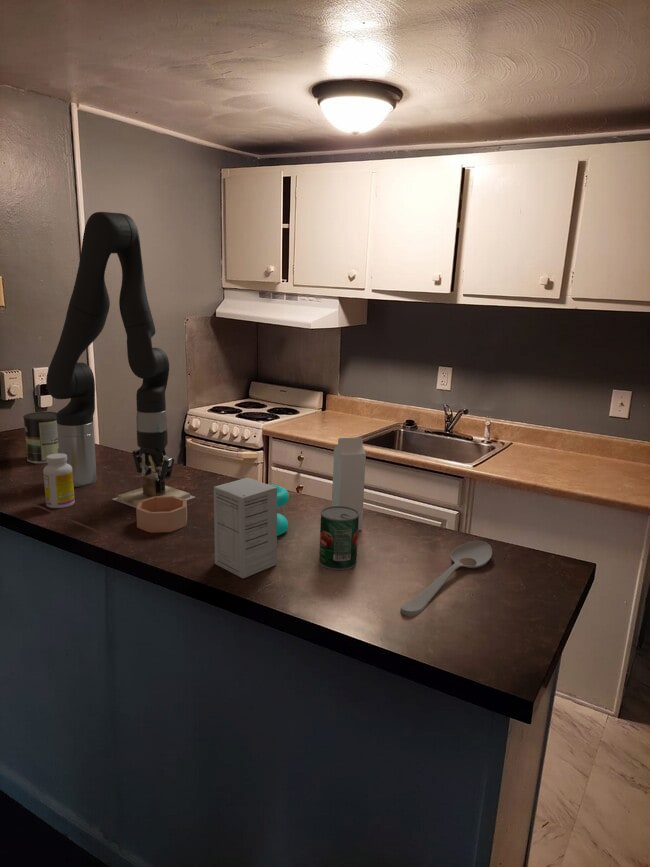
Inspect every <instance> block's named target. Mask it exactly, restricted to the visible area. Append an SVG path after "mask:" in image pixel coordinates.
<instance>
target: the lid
mask: <svg viewBox="0 0 650 867" xmlns="http://www.w3.org/2000/svg"><path fill="white" fill-rule="evenodd" d="M160 475H161V473H159V476H160ZM141 477H142V478H141V479H142V480H141V481H142V487H140V488H136V489H134V490H130V491H128V492H124V493H120V494H117V497H118V499H119V500H122V501H125V502H128V503H130V504H133V505H136V506H137V505H138V503H139V501H142V500H145V499H148V498H151V497H154V496H176V497H179V498H182V499H186V498H189V497H190V495H191V493H190V492H188V491H187V492H186V491H184V490H181V489H178V488H174V487H172V486H170V485H169V486H168V485H167V484H165V491H164V493H162V494H159V495H158V494H156V483H155V481H156V479H155V474H154V472H152V474H149V475H145V476H142V475H141ZM164 482H165V483H166V480H165V481H164Z"/></svg>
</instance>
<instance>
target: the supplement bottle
mask: <svg viewBox="0 0 650 867" xmlns="http://www.w3.org/2000/svg"><path fill="white" fill-rule="evenodd" d="M46 459H47V463H46V464H47V465H45V466H44V468H43V470H42V473H43V486H44V494H45V496H44V497H45V506H46V507H48V508H51V509H62V508H68V507H70V506H72V505H74V504H75V499H76V498H75V497H76V496H75V487H74V484H73V471H72V467H71V465H69V464H67V455H66V454H61V453H58V454H51V455H48V456H47V457H46Z"/></svg>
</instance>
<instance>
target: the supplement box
mask: <svg viewBox="0 0 650 867" xmlns="http://www.w3.org/2000/svg"><path fill="white" fill-rule="evenodd" d="M271 485H272V484H268V483H264V482H261V481H259V480H256V479H254V478H251V477H244V478H241V479H237V480H234V481H231V482H226V483H222V484H219V485H215V486H213V518H214V519H213V520H214V523H213V524H214V525H213V526H214V527H213V528H214V533H213V534H214V535H213V536H214V564H215V565H216V566H218V567H221V569H224V570H226V571H228V572H230V573H232V574H233V575H235V576H237V577H239V578H241V579H245V578H249V577H250V576H253V575H256V574H257V573H259V572H260V573H261V572H262V571H265V570H267V569H269V568H272V567H274V566H277V564H278V563H277V562H278V556H277V555H278V536H277V513H278V508H277V488H276V487H273V486H271Z"/></svg>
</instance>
